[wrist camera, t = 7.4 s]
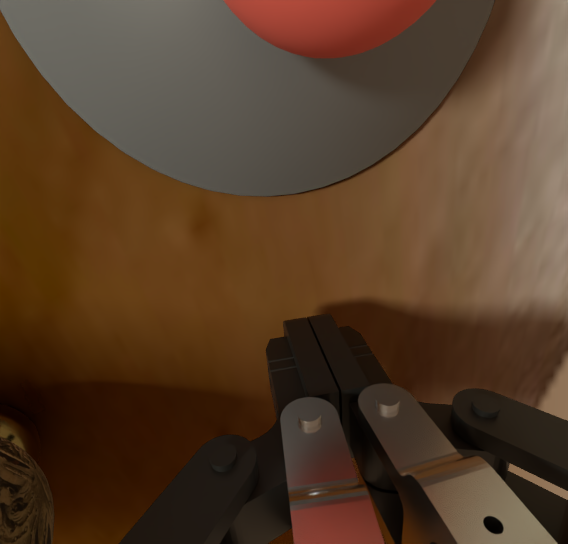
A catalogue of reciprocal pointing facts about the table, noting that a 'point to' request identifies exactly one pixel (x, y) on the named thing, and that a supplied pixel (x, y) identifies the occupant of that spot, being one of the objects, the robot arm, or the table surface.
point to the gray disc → (240, 88)
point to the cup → (23, 483)
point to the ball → (328, 23)
